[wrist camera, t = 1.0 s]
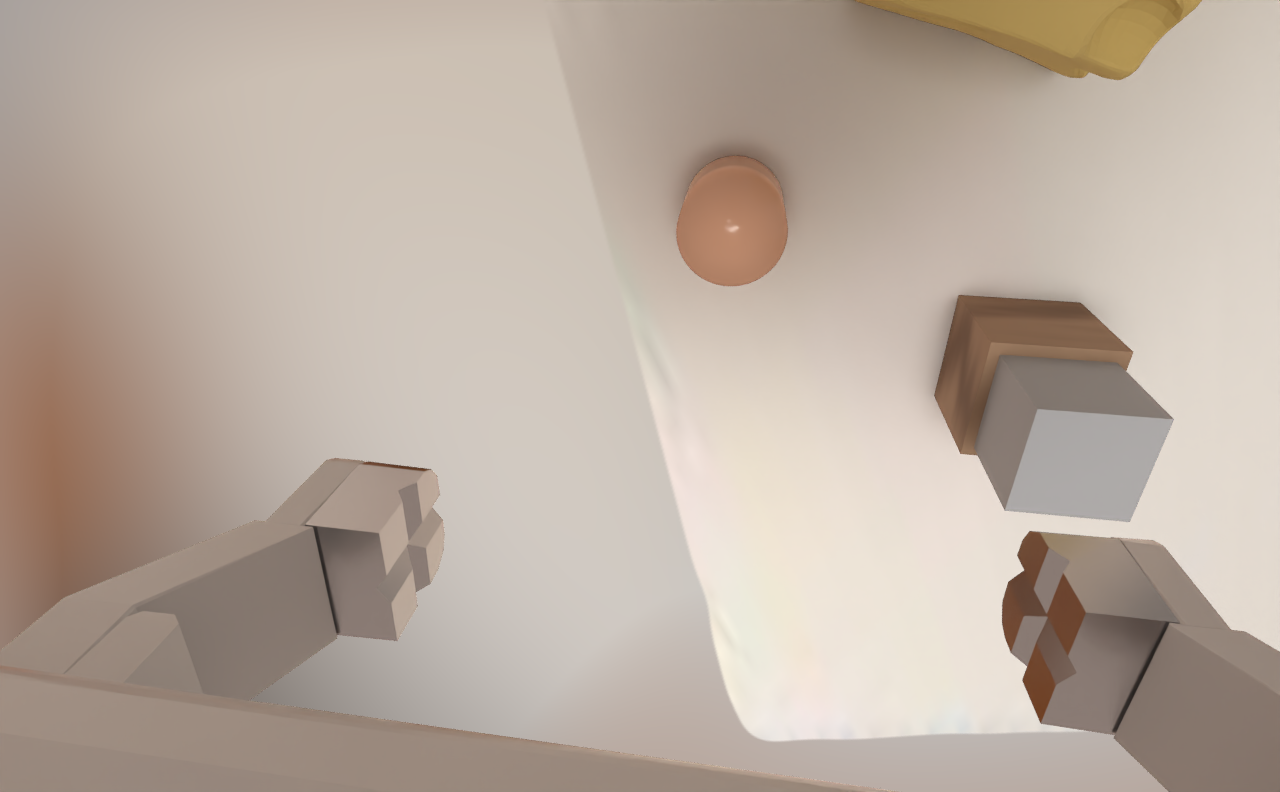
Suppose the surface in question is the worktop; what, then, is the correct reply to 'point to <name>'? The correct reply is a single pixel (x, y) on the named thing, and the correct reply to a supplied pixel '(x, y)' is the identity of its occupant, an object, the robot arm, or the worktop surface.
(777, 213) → the peach brown rounded dome
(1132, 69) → the cheese
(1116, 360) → the walnut block
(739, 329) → the worktop surface
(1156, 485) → the worktop surface
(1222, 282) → the worktop surface
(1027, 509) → the grey block
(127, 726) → the robot arm
